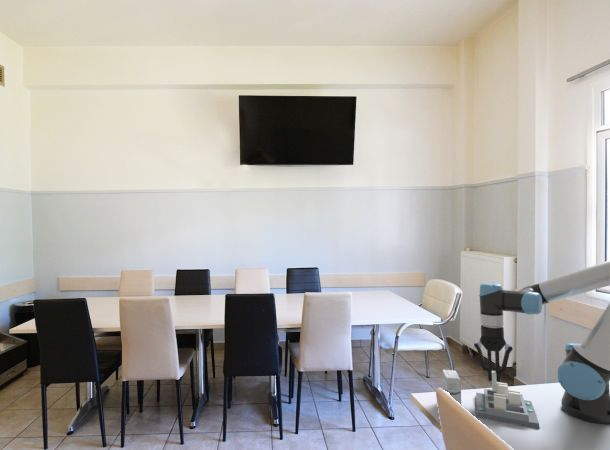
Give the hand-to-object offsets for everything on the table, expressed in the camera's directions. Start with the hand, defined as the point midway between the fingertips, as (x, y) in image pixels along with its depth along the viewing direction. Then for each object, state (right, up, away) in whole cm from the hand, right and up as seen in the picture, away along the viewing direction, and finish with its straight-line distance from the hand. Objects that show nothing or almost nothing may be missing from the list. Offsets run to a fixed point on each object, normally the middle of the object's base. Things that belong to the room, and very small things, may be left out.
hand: (494, 390), depth 132 cm
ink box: (-17, -5, -3) cm, 18 cm away
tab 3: (+3, -3, -7) cm, 9 cm away
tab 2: (-4, -3, -10) cm, 11 cm away
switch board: (0, -5, -6) cm, 8 cm away
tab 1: (+2, -3, -1) cm, 4 cm away
